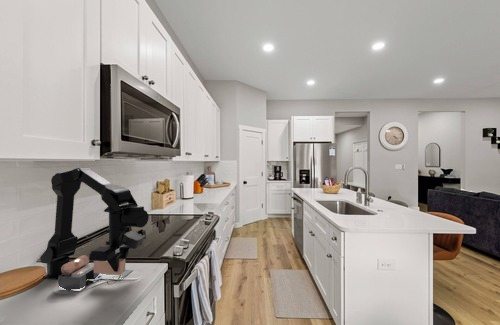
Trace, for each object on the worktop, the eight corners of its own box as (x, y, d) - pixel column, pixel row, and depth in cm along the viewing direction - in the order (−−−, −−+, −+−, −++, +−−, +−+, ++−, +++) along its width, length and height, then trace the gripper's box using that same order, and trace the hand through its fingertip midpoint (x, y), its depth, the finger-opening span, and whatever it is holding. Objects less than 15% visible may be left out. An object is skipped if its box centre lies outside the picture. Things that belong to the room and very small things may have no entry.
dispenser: (58, 290, 73) (58, 264, 73) (79, 277, 81) (79, 254, 81) (79, 291, 72) (79, 265, 72) (98, 278, 80) (98, 255, 80)
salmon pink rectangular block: (93, 273, 75) (93, 260, 75) (99, 269, 77) (99, 257, 77) (120, 274, 74) (120, 262, 74) (125, 270, 76) (125, 258, 76)
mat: (88, 278, 80) (88, 277, 80) (102, 269, 87) (102, 268, 87) (120, 280, 79) (120, 279, 79) (132, 271, 86) (132, 270, 86)
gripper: (121, 234, 65) (121, 286, 65) (155, 218, 83) (155, 258, 83) (87, 233, 66) (87, 284, 66) (128, 217, 84) (128, 257, 85)
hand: (118, 269), depth 75 cm, fingers closed on salmon pink rectangular block, 2 cm apart
